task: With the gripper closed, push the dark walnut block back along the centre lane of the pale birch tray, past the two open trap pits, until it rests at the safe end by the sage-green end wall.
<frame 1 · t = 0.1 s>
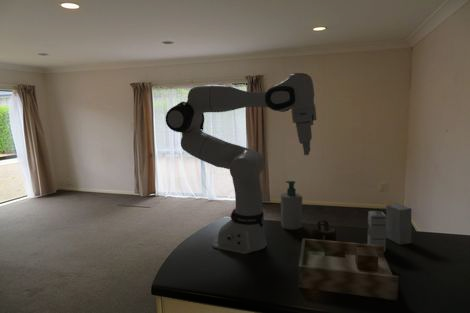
hand: (307, 153, 115), 39 cm above the kitchen counter, tool pointing down, fingers open, 8 cm apart
skincare box: (397, 240, 128), on the kitchen counter
syrup box: (375, 248, 121), on the kitchen counter
soap bottle: (291, 226, 147), on the kitchen counter
walnut block: (366, 266, 99), point 4 cm above the kitchen counter, touching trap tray
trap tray: (343, 274, 102), on the kitchen counter
kendama: (323, 238, 132), on the kitchen counter
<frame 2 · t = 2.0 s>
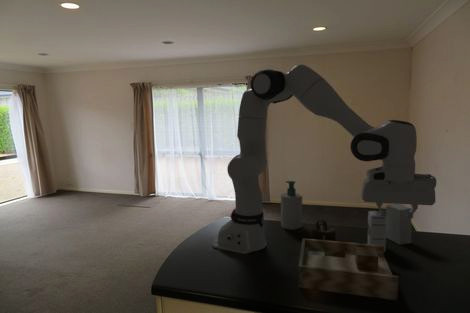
hand: (395, 216, 95), 21 cm above the kitchen counter, tool pointing down, fingers open, 6 cm apart
nothing on the kitchen counter moved.
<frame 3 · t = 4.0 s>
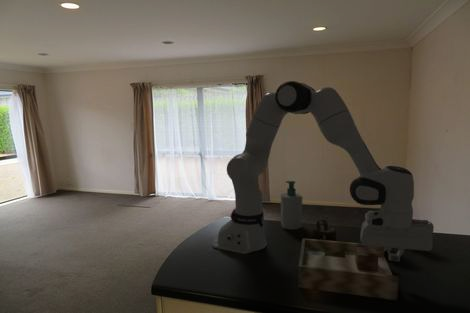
hand: (394, 260, 97), 7 cm above the kitchen counter, tool pointing down, fingers closed
nothing on the kitchen counter moved.
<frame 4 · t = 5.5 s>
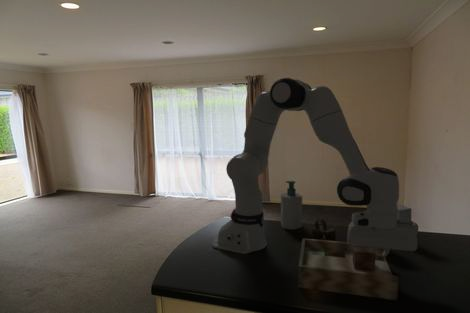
hand: (379, 260, 98), 6 cm above the kitchen counter, tool pointing down, fingers closed
walnut block: (363, 265, 99), point 4 cm above the kitchen counter, touching gripper, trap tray
everything else where it was.
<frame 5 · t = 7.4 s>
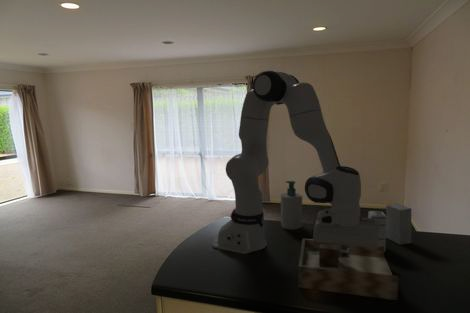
hand: (344, 256, 101), 6 cm above the kitchen counter, tool pointing down, fingers closed
walnut block: (328, 262, 102), point 4 cm above the kitchen counter, touching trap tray
everything else where it was.
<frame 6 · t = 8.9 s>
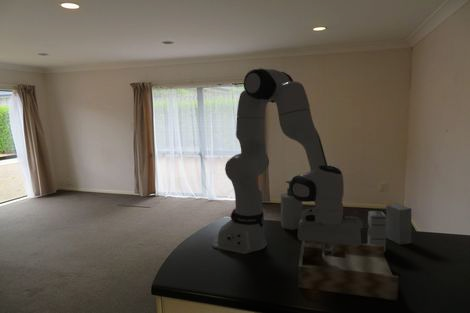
hand: (328, 254, 102), 7 cm above the kitchen counter, tool pointing down, fingers closed
walnut block: (313, 260, 103), point 4 cm above the kitchen counter, touching gripper, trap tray
everything else where it was.
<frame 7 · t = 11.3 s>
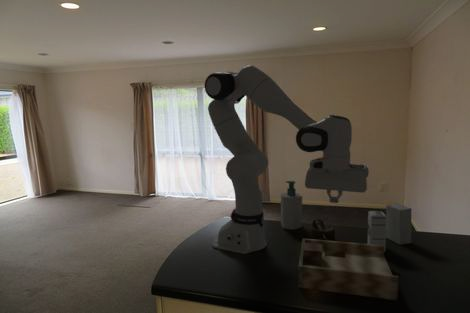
hand: (333, 202, 106), 23 cm above the kitchen counter, tool pointing down, fingers closed
walnut block: (312, 260, 103), point 4 cm above the kitchen counter, touching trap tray
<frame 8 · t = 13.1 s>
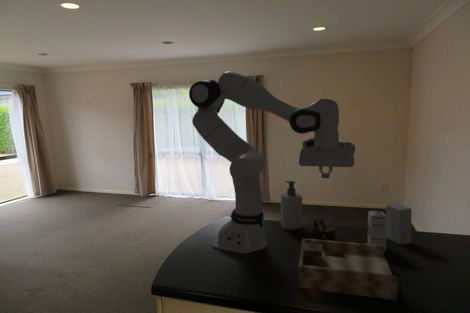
hand: (325, 177, 117), 29 cm above the kitchen counter, tool pointing down, fingers closed
at the end: walnut block 0.4 cm from the target spot on the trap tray, point 4.0 cm above the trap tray's base; walnut block tilted 0° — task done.
